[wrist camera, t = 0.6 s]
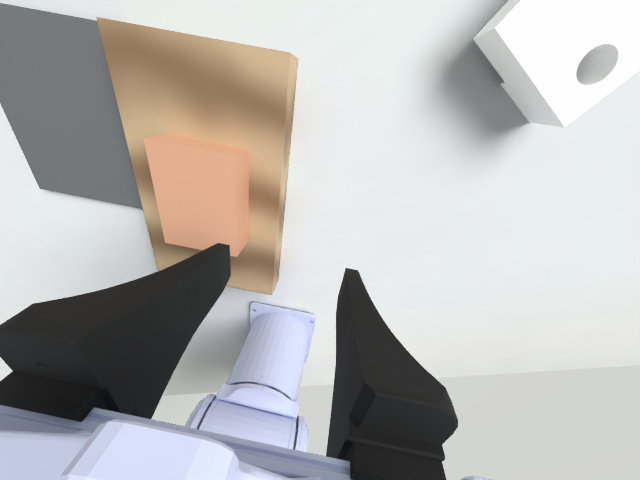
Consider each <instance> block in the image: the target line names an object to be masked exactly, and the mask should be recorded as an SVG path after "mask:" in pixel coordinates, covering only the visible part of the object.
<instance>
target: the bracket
mask: <svg viewBox="0 0 640 480" xmlns="http://www.w3.org/2000/svg"><path fill="white" fill-rule="evenodd" d="M473 40H474V41H475V43H476V44H477V45H478V47H479V48H480V49H481V51H482V52H483V53H484V55H485V56H486V57H487V59H488V60H489V62H490V63H491V64H492V66H493V67H494V68H495V70H496V71H497V72H498V74H499V75H500V76H501V78H502V79H503V80H504V81H503V82H502V83H501V86H502V87H503V88H504V90H505V91H506V92H507V94H508V95H509V96H510V98H511V99H512V100H513V102H514V103H515V104H516V106H517V107H518V108H519V110H520V111H521V112H522V114H523V115H524V116H525V118H526V119H527V120H528V122H529V123H537V124H544V125H552V126H560V127H565V126H567V125H568V124H569V123H571V122H572V121H573V120H575V119H576V118H577V117H579V116H580V115H581V114H582V113H584V112H585V111H586V110H588V109H589V108H590V107H592V106H593V105H594V104H596V103H597V102H598V101H600V100H601V99H602V98H603V97H605V96H606V95H607V94H609V93H610V92H611V91H613V90H614V89H615V88H617V87H618V86H619V85H621V84H622V83H623V82H624V81H626V80H627V79H628V78H630V77H631V76H632V75H634V74H635V73H636V72H638V71H639V70H640V0H508V1H507V2H506V3H505V5H504V6H503V7H502V8H501V9H500V10H499V11H498V12H497V13H496V14H495V15H494V16H493V18H492V19H491V20H490V21H489V22H488V23H487V24H486V25H485V26H484V27H483V28H482V29H481V31H480V32H479V33H478V34H477V35H476V36H475V37H474V38H473Z"/></svg>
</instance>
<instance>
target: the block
mask: <svg viewBox="0 0 640 480" xmlns="http://www.w3.org/2000/svg"><path fill="white" fill-rule="evenodd" d="M144 143H145V148H146V153H147V158H148V163H149V167H150V172H151V177H152V182H153V187H154V192H155V196H156V201H157V206H158V211H159V216H160V220H161V225H162V230H163V235H164V240H165V243H169V244H174V245H179V246H184V247H189V248H194V249H199V250H205V249H207V248H209V247H211V246H213V245H215V244H217V243H222V244H227V245H230V256H234V257H237V256H238V255H239V254H240V252H241V251H242V249H243V248H244V247H245V245H246V244H247V243H248V214H249V149H246V148H241V147H235V146H230V145H225V144H220V143H214V142H209V141H204V140H199V139H194V138H188V137H183V136H178V135H173V134H165V135H160V136H154V137H149V138H144Z"/></svg>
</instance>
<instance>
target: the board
mask: <svg viewBox="0 0 640 480" xmlns="http://www.w3.org/2000/svg"><path fill="white" fill-rule="evenodd" d="M97 22H98V26H99V30H100V34H101V38H102V42H103V46H104V50H105V55H106V59H107V63H108V67H109V71H110V75H111V79H112V83H113V87H114V92H115V96H116V100H117V104H118V108H119V112H120V116H121V120H122V125H123V129H124V133H125V137H126V141H127V145H128V149H129V153H130V157H131V162H132V166H133V170H134V174H135V178H136V182H137V186H138V190H139V195H140V199H141V203H142V207H143V211H144V215H145V219H146V223H147V228H148V232H149V236H150V240H151V244H152V248H153V252H154V256H155V260H156V265H157V269H158V271H161V270H163V269H165V268H167V267H170V266H172V265H174V264H176V263H178V262H181V261H183V260H185V259H187V258H189V257H191V256H193V255H195V254H197V253H199V252H201V251H203V250H199V249H194V248H189V247H184V246H179V245H174V244H169V243H165V240H164V235H163V230H162V225H161V220H160V216H159V211H158V206H157V201H156V196H155V192H154V187H153V182H152V177H151V172H150V167H149V163H148V158H147V153H146V148H145V143H144V138H149V137H154V136H160V135H165V134H173V135H178V136H183V137H188V138H194V139H199V140H204V141H209V142H214V143H220V144H225V145H230V146H235V147H241V148H246V149H249V214H248V243H247V244H246V245H245V247H244V248H243V249H242V251H241V252H240V254H239V255H238V256H237V257H234V256H230V265H231V276H230V278H229V280H228V282H227V284H226V286H228V287H233V288H238V289H243V290H248V291H253V292H258V293H263V294H268V295H272V294H273V291H274V289H275V286H276V284H277V281H278V277H279V266H280V255H281V244H282V233H283V221H284V210H285V199H286V188H287V177H288V166H289V155H290V144H291V132H292V121H293V110H294V99H295V88H296V77H297V66H298V58H296V57H295V56H294V55H292V54H291V53H288V52H283V51H277V50H272V49H267V48H261V47H256V46H250V45H245V44H239V43H234V42H228V41H223V40H218V39H212V38H207V37H201V36H196V35H190V34H185V33H180V32H174V31H169V30H163V29H158V28H152V27H147V26H142V25H136V24H131V23H125V22H120V21H114V20H109V19H104V18H98V17H97Z"/></svg>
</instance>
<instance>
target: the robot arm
mask: <svg viewBox="0 0 640 480" xmlns="http://www.w3.org/2000/svg"><path fill="white" fill-rule="evenodd" d="M230 276H231V265H230V245H227V244H222V243H217V244H215V245H213V246H211V247H209V248H207V249H205V250H203V251H201V252H199V253H197V254H195V255H193V256H191V257H189V258H187V259H185V260H183V261H181V262H178V263H176V264H174V265H172V266H170V267H167V268H165V269H163V270H161V271H158V272H156V273H153V274H150V275H148V276H145V277H142V278H139V279H137V280H134V281H130V282H127V283H124V284H120V285H117V286H114V287H110V288H107V289H103V290H99V291H95V292H91V293H87V294H82V295H78V296H73V297H68V298H63V299H57V300H52V301H47V302H41V303H35V304H32V305H30V306H29V307H27V308H26V309H24V310H23V311H21V312H20V313H18V314H17V315H15V316H14V317H12V318H10V319H9V320H7V321H6V322H4V323H3V324H1V325H0V357H1V358H2V359H3V360H4V361H5V363H6V364H7V365H8V366H9V367H10V368H11V369H12V370H13V372H11V373H10V374H9V375H8V376H6V377H5V378H4V379H3V380H1V381H0V480H446V477H445V473H444V469H443V465H442V461H444V460H445V455H444V452H443V447H442V444H443V443H444V442H445V441H446V440H447V439H448V438H449V437H450V436H451V435H452V434H453V433H454V431H455V430H456V428H457V427H458V420H457V417H456V414H455V411H454V408H453V405H452V402H451V399H450V397H449V395H448V393H447V390H446V388H445V387H444V386H443V385H442V384H441V383H439V382H438V381H437V380H436V379H435V378H434V377H433V376H432V375H431V374H430V373H429V372H427V371H426V370H425V369H424V368H423V367H422V366H421V365H420V364H419V363H418V362H417V361H416V360H415V359H414V358H413V357H412V356H411V354H410V353H409V352H408V351H407V350H406V349H405V348H404V347H403V345H402V344H401V343H400V342H399V341H398V339H397V338H396V337H395V336H394V335H393V333H392V332H391V331H390V329H389V328H388V326H387V325H386V324H385V322H384V321H383V319H382V317H381V316H380V314H379V313H378V311H377V309H376V308H375V306H374V304H373V302H372V300H371V298H370V296H369V294H368V292H367V290H366V288H365V286H364V284H363V282H362V279H361V277H360V274H359V272H358V270H353V269H348V268H346V270H345V273H344V277H343V281H342V284H341V288H340V292H339V295H338V302H337V311H336V368H335V379H334V390H333V400H332V410H331V419H330V428H329V437H328V445H327V455H326V456H321V455H317V454H312V453H307V445H308V427H307V425H306V422H305V419H304V417H302V416H297V415H298V409H299V403H297V398H298V392H299V387H300V381H301V376H302V370H303V365H304V363H305V362H306V361H307V357H308V352H309V348H310V343H311V338H312V334H313V329H314V325H315V320H316V316H315V315H314V314H311V313H306V312H301V311H296V310H291V309H286V308H281V307H276V306H271V305H266V304H261V303H256V302H252V303H251V305H250V331H249V334H248V336H247V338H246V341H245V343H244V345H243V347H242V350H241V352H240V354H239V356H238V359H237V361H236V363H235V366H234V368H233V370H232V372H231V375H230V377H229V379H228V381H227V384H222V385H221V387H220V389H219V391H218V393H217V395H214V394H209V395H208V396H207V397H206V398H204V399H203V400H201V401H200V402H199V403H198V405H197V406H196V407H195V409H194V410H193V412H192V414H191V415H190V418H189V419H188V421H187V423H186V425H185V426H180V425H175V424H170V423H166V422H161V421H156V420H151V418H152V416H153V414H154V412H155V410H156V407H157V405H158V403H159V401H160V399H161V396H162V394H163V392H164V390H165V388H166V386H167V384H168V382H169V380H170V378H171V376H172V374H173V372H174V370H175V368H176V366H177V364H178V362H179V360H180V358H181V357H182V355H183V353H184V351H185V349H186V347H187V345H188V344H189V342H190V340H191V338H192V336H193V335H194V333H195V331H196V330H197V328H198V327H199V325H200V324H201V322H202V321H203V319H204V318H205V317H206V315H207V314H208V312H209V311H210V309H211V308H212V307H213V305H214V304H215V302H216V301H217V299H218V298H219V296H220V295H221V293H222V292H223V290H224V288H225V286H226V284H227V282H228V280H229V278H230ZM311 320H312V321H311ZM461 480H490V479H485V478H481V477H474V476H469V477H465V478H463V479H461Z"/></svg>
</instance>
